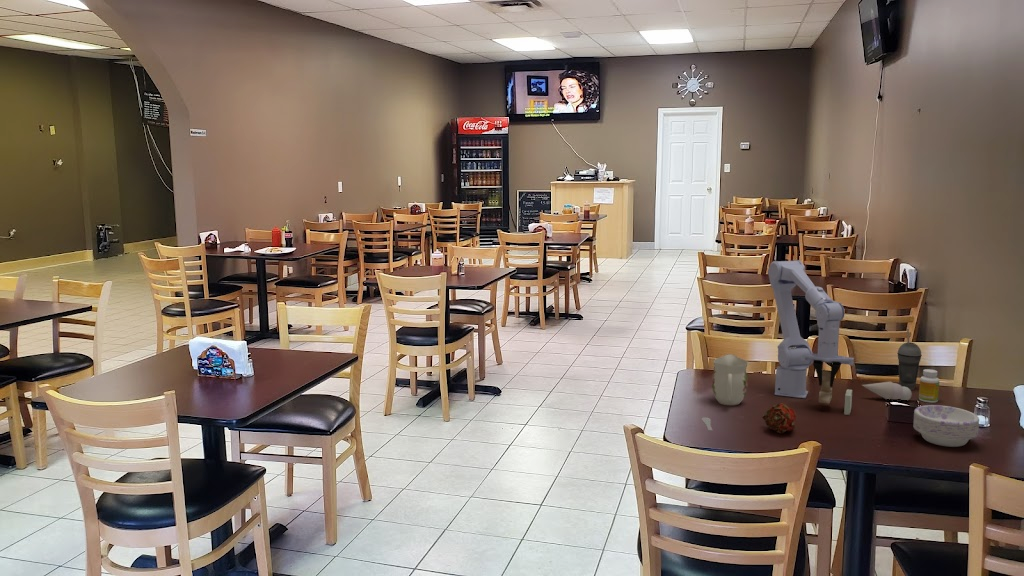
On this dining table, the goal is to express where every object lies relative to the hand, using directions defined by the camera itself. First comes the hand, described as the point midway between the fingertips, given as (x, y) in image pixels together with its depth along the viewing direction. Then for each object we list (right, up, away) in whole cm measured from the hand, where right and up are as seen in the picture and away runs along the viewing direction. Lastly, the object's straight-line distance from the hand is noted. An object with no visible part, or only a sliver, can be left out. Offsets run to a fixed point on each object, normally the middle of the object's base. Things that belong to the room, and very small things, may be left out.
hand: (826, 385), depth 234 cm
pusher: (0, -5, +1) cm, 5 cm away
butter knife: (-40, -11, -18) cm, 45 cm away
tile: (+6, -8, -2) cm, 10 cm away
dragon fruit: (-21, -11, -18) cm, 30 cm away
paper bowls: (+20, -12, -28) cm, 37 cm away
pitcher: (-28, -7, +7) cm, 29 cm away
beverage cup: (+36, -4, +23) cm, 43 cm away
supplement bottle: (+36, -6, +8) cm, 37 cm away
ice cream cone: (+23, -6, +10) cm, 26 cm away
